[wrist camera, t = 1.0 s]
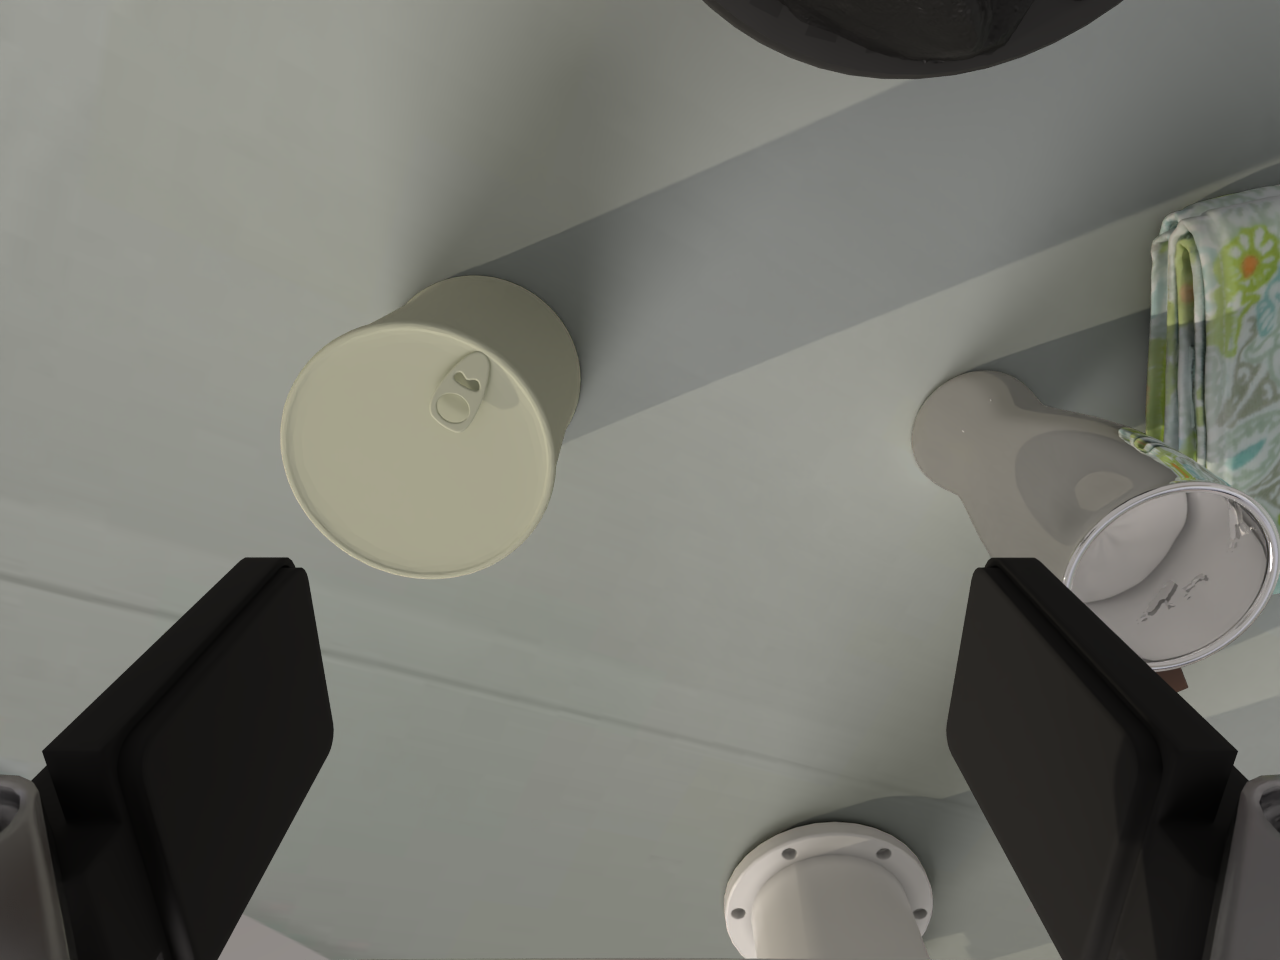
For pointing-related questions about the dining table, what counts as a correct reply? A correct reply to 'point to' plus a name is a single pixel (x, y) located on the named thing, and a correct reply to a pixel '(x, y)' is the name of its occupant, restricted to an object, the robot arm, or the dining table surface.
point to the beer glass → (1103, 515)
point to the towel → (1220, 340)
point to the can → (434, 428)
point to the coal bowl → (908, 31)
